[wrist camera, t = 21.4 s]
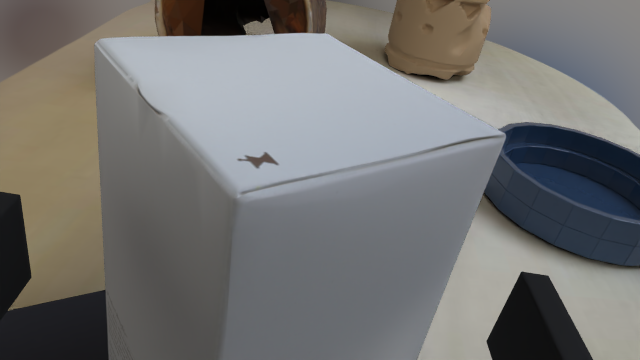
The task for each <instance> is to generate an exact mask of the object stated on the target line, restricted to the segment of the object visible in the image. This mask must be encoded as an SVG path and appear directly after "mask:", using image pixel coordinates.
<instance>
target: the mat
mask: <svg viewBox="0 0 640 360" xmlns="http://www.w3.org/2000/svg"><path fill="white" fill-rule="evenodd" d="M0 360H109V354H108V330H107V310H106V290H103V291H98V292H93V293H89V294H84V295H79V296H75V297H70V298H65V299H61V300H56V301H51V302H47V303H42V304H37V305H33V306H28V307H23V308H19V309H14V310H10V311H7V312H6V314H5V315H4V316H3V318H2V319H1V320H0Z"/></svg>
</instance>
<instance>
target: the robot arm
mask: <svg viewBox="0 0 640 360" xmlns="http://www.w3.org/2000/svg"><path fill="white" fill-rule="evenodd" d="M30 279H31V270H30V263H29V255H28V248H27V241H26V234H25V227H24V219H23V212H22V205H21V198H20V195H17V194H11V193H4V192H0V320H1V319H2V318H3V316H4V315H5V314H6V312H7V311H8V309H9V308H10V307H11V305H12V304H13V302H14V301H15V300H16V298H17V297H18V295H19V294H20V293H21V291H22V290H23V288H24V287H25V286H26V284H27V283H28V282H29V280H30ZM486 342H487V345H488V348H489V351H490V354H491V357H492V360H593V359H592V357H591V355H590V353H589V351H588V349H587V347H586V345H585V344H584V342H583V340H582V338H581V336H580V334H579V332H578V330H577V329H576V327H575V325H574V323H573V321H572V319H571V317H570V315H569V314H568V312H567V310H566V308H565V306H564V304H563V302H562V300H561V299H560V297H559V295H558V293H557V291H556V289H555V287H554V285H553V284H552V282H551V280H550V278H549V276H546V275H540V274H533V273H527V272H521V274H520V276H519V278H518V280H517V282H516V284H515V286H514V288H513V290H512V292H511V294H510V295H509V297H508V299H507V301H506V303H505V305H504V307H503V309H502V311H501V313H500V315H499V317H498V319H497V321H496V323H495V325H494V327H493V329H492V331H491V333H490V335H489V337H488V339H487V341H486Z"/></svg>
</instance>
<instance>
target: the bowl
mask: <svg viewBox="0 0 640 360" xmlns="http://www.w3.org/2000/svg"><path fill="white" fill-rule="evenodd" d="M498 130H499V131H501V132H503V133H505V134H506V139H505V141H504V144H503V147H502V149H501V152H500V154H499V156H498V159H497V161H496V164H495V166H494V168H493V171H492V173H491V176H490V178H489V181H488V183H487V185H486V188H485V190H484V192H485V194H486V195H487V196H488V197H489V199H490V200H491V201H492V202H493V203H494V205H495V206H496V207H497V208H498V209H499V210H500V211H501V212H503V213H504V214H505V215H506V216H508V217H509V218H510V219H511V220H513V221H514V222H515V223H517V224H518V225H519V226H520V227H522V228H524V229H525V230H527V231H529V232H531V233H533V234H534V235H536V236H538V237H540V238H542V239H543V240H545V241H547V242H549V243H551V244H553V245H555V246H557V247H560V248H562V249H565V250H568V251H570V252H573V253H576V254H578V255H581V256H583V257H586V258H590V259H594V260H599V261H603V262H608V263H613V264H617V265H623V266H640V155H639V154H637V153H635V152H633V151H631V150H629V149H627V148H625V147H622V146H620V145H618V144H615V143H613V142H610V141H608V140H606V139H603V138H600V137H597V136H594V135H591V134H588V133H584V132H581V131H578V130H574V129H570V128H565V127H560V126H556V125H550V124H541V123H530V122H525V123H515V124H508V125H506V126H504V127H502V128H500V129H498Z"/></svg>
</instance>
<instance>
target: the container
mask: <svg viewBox="0 0 640 360" xmlns="http://www.w3.org/2000/svg"><path fill="white" fill-rule="evenodd" d="M488 1H490V0H397V3H396V7H395V11H394V15H393V18H392V22H391V26H390V30H389V34H388V39H389V43H387V44H386V46H385V53H386V54H387V56H388V63H389V65H390V66H391V67H393V68H395V69H397V70H400V71H405V73H406V74H411V73H415V74H423V75H424V74H427V75H432V76H436V77H439V78H441V79H445V80H448V79H449V78H450V77H452V75H461V76H463V75H467V74H469V73H470V72H471V71H473V70H474V63H476V62H477V61H478V58H479V55H480V53H481V50H482V47H483V44H484V41H485V38H486V35H487V32H488V29H489V25H490V20H491V8H490V7H489V6H488V5H486V4H487V2H488Z"/></svg>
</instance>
